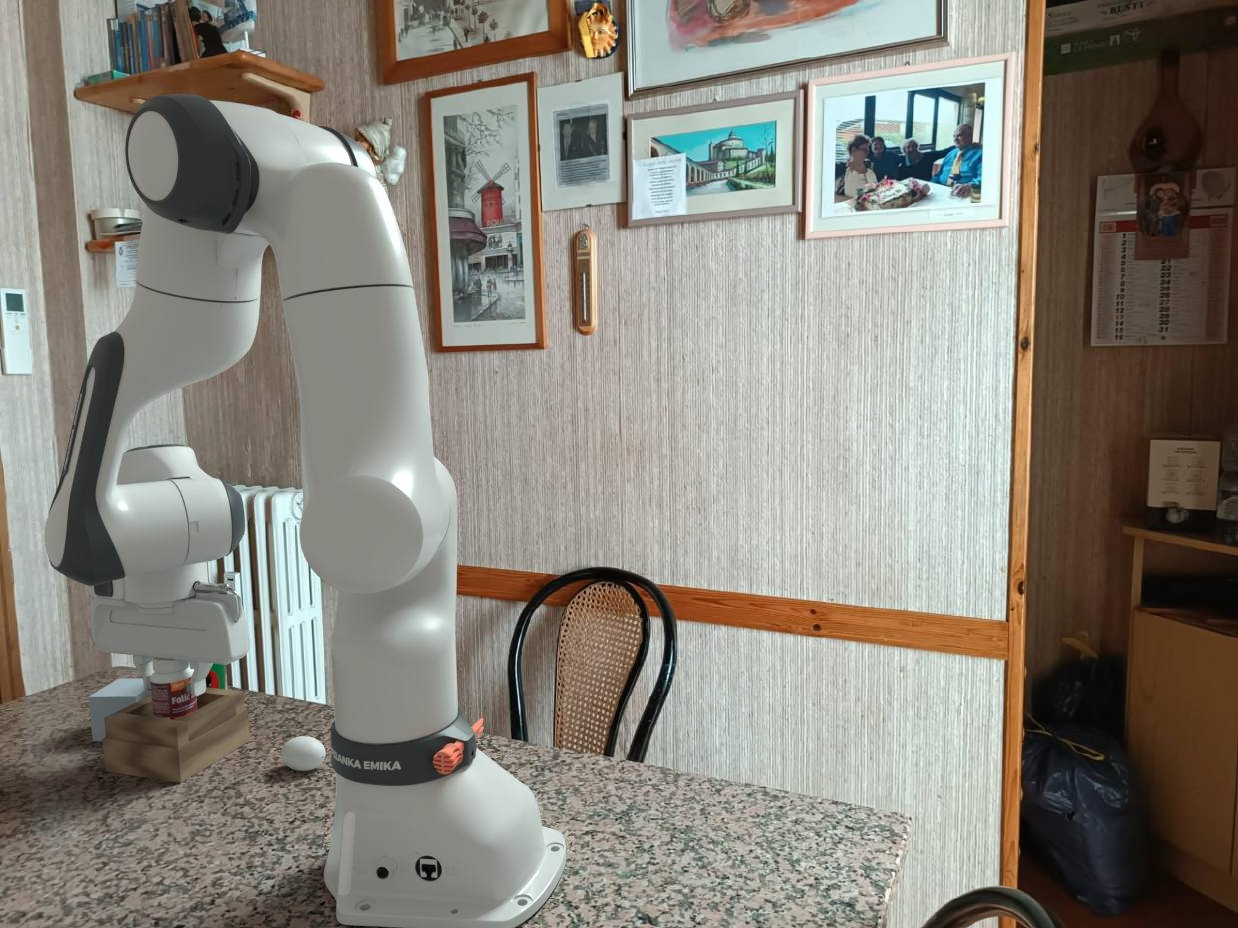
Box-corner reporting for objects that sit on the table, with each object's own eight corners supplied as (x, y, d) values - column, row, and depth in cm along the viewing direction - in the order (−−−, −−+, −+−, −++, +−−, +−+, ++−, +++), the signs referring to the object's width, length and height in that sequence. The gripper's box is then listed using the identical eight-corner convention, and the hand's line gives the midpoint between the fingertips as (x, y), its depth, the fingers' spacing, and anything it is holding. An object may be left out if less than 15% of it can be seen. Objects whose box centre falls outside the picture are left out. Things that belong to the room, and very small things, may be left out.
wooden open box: (250, 740, 101) (246, 690, 101) (181, 782, 91) (176, 728, 90) (179, 730, 104) (176, 682, 104) (105, 770, 94) (100, 717, 93)
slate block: (166, 720, 108) (163, 678, 107) (139, 741, 102) (135, 696, 101) (122, 721, 108) (118, 678, 107) (92, 741, 102) (88, 696, 101)
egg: (314, 780, 91) (312, 748, 91) (271, 772, 93) (269, 741, 93) (336, 764, 95) (334, 733, 94) (294, 757, 97) (293, 727, 96)
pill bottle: (178, 732, 94) (172, 664, 93) (144, 729, 95) (138, 661, 94) (207, 715, 99) (202, 650, 98) (174, 712, 100) (169, 647, 99)
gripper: (258, 578, 95) (265, 689, 97) (122, 569, 101) (131, 674, 102) (218, 591, 89) (226, 710, 91) (76, 581, 95) (86, 693, 96)
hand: (175, 691), depth 96 cm, fingers closed on pill bottle, 5 cm apart
